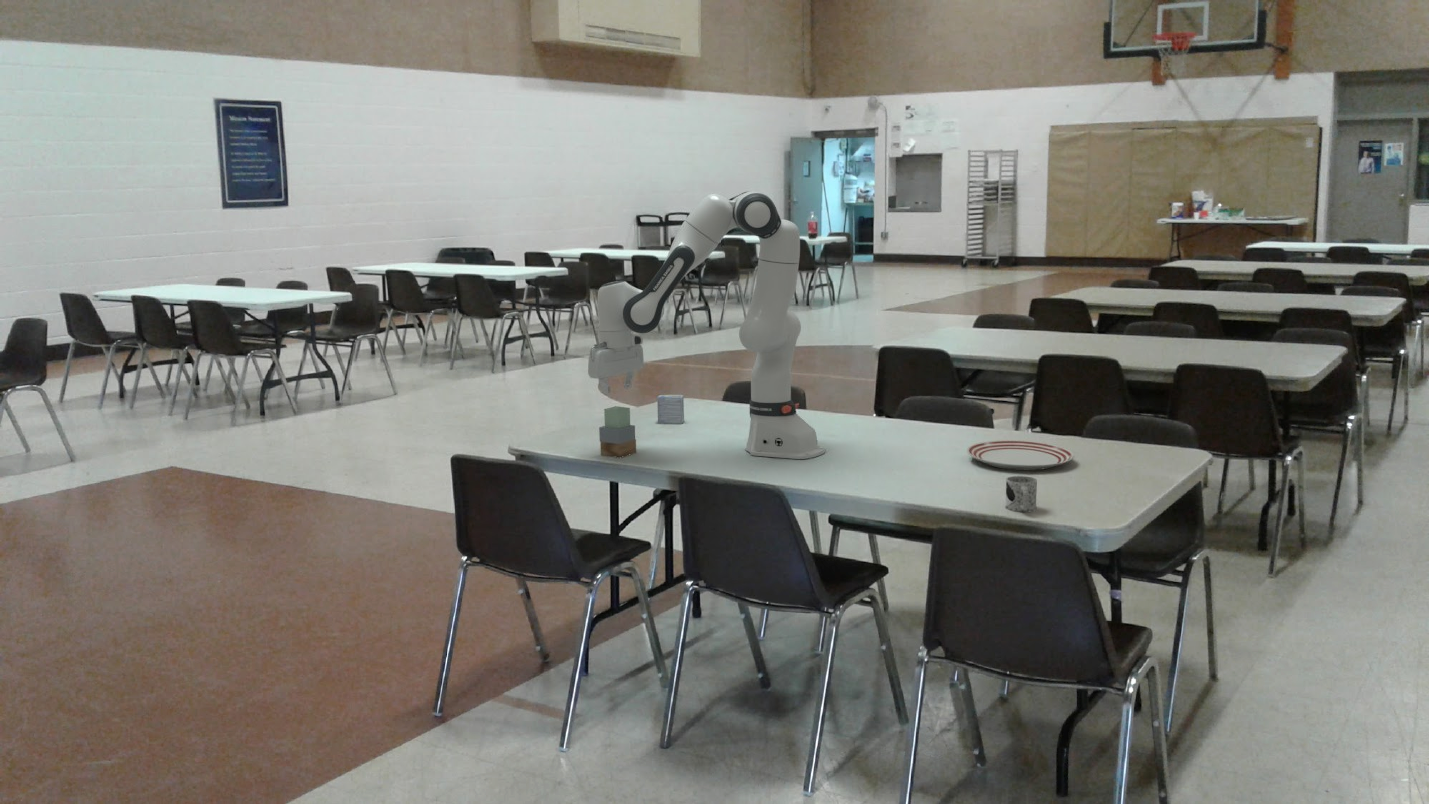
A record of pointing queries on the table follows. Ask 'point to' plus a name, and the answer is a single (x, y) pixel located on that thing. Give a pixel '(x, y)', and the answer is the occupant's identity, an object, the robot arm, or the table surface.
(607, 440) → the tower top
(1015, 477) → the mug
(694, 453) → the table surface
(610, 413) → the sage block
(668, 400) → the medicine box
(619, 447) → the tower base
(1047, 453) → the dinner plate
